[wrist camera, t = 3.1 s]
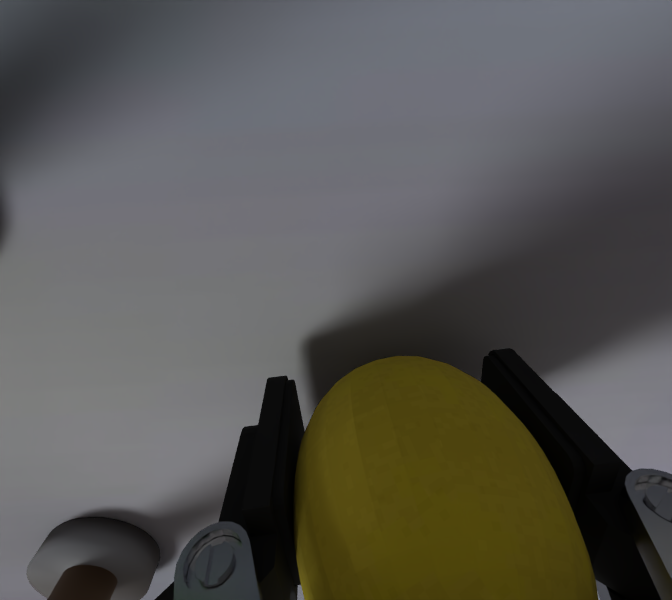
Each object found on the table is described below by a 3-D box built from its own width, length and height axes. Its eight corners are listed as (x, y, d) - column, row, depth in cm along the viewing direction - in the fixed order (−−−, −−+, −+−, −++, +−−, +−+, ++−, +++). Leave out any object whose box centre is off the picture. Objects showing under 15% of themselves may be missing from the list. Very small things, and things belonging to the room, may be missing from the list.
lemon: (395, 269, 10) (655, 664, 2) (497, 379, 11) (818, 788, 4) (263, 382, 11) (165, 857, 4) (374, 464, 13) (454, 884, 6)
